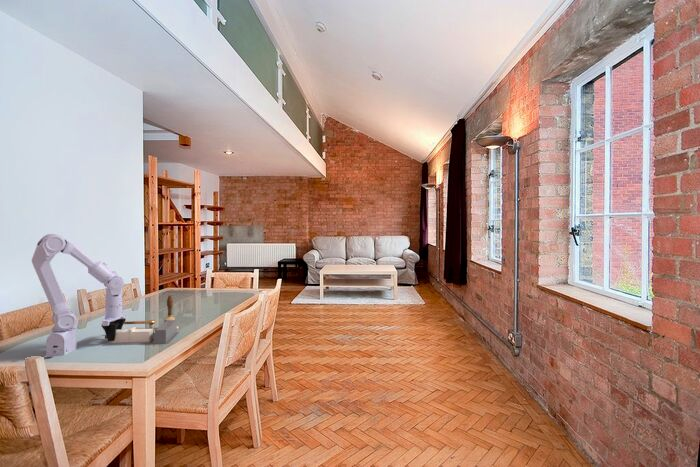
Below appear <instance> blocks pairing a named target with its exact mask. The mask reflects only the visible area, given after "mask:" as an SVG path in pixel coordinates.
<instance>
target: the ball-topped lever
mask: <svg viewBox="0 0 700 467" xmlns="http://www.w3.org/2000/svg"><path fill="white" fill-rule="evenodd" d="M155 323H156V320H155V319H153V320H152V319H150V320H136V321H135V320H131V321H130V320H128V321H126V320H125V322H124V324H123V325H143V324H144V325H147V324H148V325H149V324H154V325H155Z"/></svg>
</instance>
